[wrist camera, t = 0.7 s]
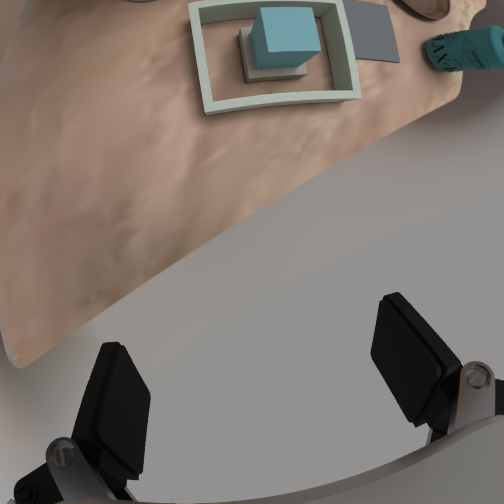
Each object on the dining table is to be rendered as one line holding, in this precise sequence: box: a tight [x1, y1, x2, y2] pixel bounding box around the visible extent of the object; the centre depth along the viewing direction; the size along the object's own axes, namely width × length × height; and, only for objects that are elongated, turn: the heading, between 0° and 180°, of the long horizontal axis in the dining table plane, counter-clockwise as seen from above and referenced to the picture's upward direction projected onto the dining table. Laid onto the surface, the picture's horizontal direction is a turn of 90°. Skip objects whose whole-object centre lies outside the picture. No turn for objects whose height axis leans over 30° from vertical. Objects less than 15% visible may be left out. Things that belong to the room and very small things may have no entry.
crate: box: [188, 0, 362, 116], centre depth 27 cm, size 14×18×6 cm
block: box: [250, 7, 321, 70], centre depth 24 cm, size 5×5×8 cm
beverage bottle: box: [427, 25, 504, 73], centre depth 21 cm, size 6×7×20 cm
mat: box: [342, 0, 400, 63], centre depth 29 cm, size 10×10×1 cm
